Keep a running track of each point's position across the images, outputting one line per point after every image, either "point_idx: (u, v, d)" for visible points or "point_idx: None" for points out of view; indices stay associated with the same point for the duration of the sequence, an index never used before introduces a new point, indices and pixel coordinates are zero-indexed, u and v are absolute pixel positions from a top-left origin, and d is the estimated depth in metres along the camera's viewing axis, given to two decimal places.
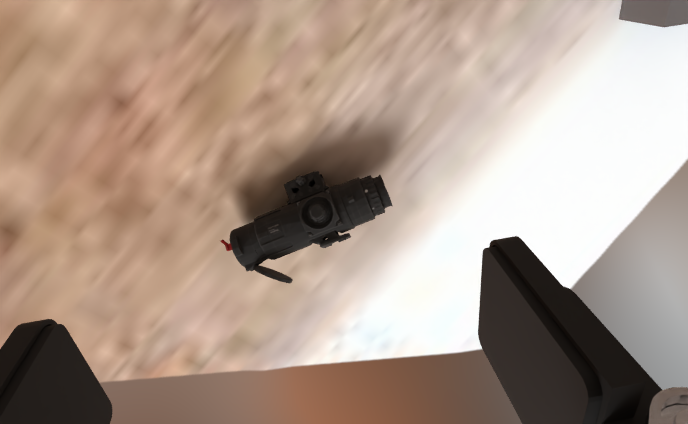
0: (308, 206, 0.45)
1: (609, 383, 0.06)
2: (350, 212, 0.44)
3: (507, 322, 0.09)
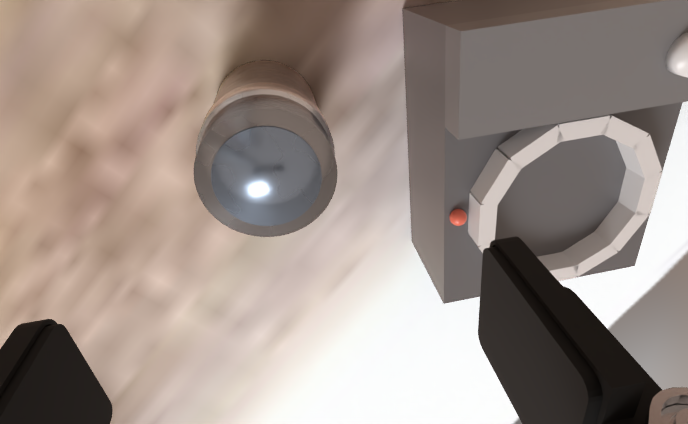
0: None
1: (609, 383, 0.06)
2: None
3: (507, 322, 0.09)
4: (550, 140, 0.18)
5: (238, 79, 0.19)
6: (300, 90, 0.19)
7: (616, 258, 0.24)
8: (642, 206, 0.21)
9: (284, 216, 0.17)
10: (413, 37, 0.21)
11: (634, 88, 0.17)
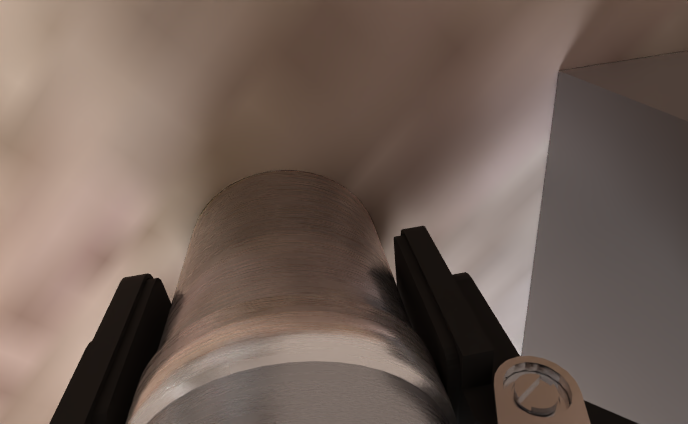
0: None
1: (461, 351, 0.07)
2: None
3: (410, 304, 0.10)
4: None
5: (230, 244, 0.09)
6: (369, 274, 0.08)
7: None
8: None
9: None
10: (596, 135, 0.10)
11: None
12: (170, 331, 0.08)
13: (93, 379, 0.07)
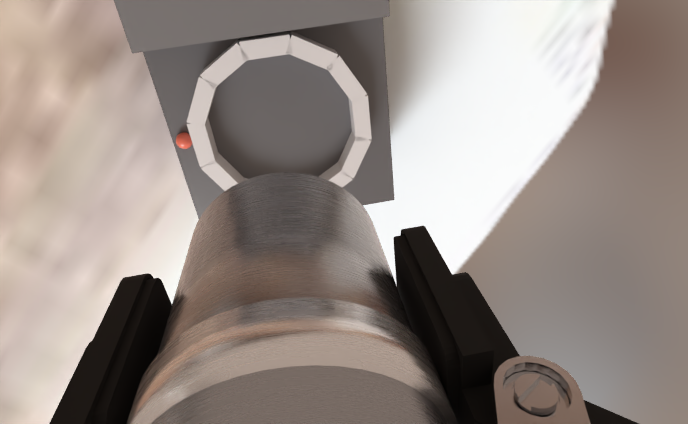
0: None
1: (461, 351, 0.07)
2: None
3: (409, 304, 0.10)
4: (235, 58, 0.19)
5: (230, 247, 0.09)
6: (370, 277, 0.08)
7: (371, 191, 0.25)
8: (360, 131, 0.22)
9: None
10: None
11: (297, 5, 0.18)
12: (170, 334, 0.08)
13: (93, 379, 0.07)
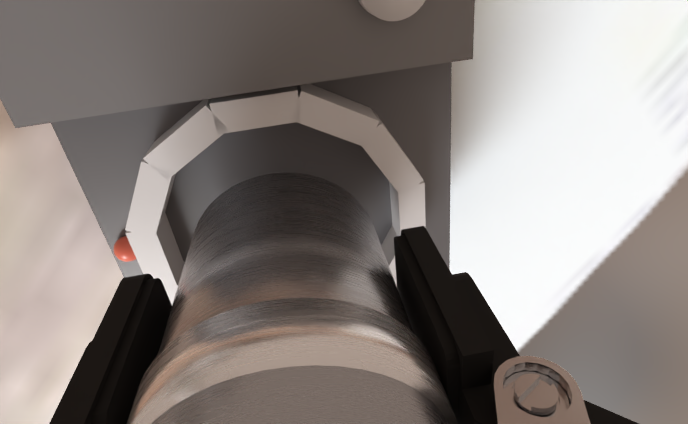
0: None
1: (461, 351, 0.07)
2: None
3: (409, 304, 0.10)
4: (204, 130, 0.11)
5: (230, 247, 0.09)
6: (370, 277, 0.08)
7: None
8: None
9: None
10: None
11: (312, 41, 0.10)
12: (170, 334, 0.08)
13: (93, 379, 0.07)
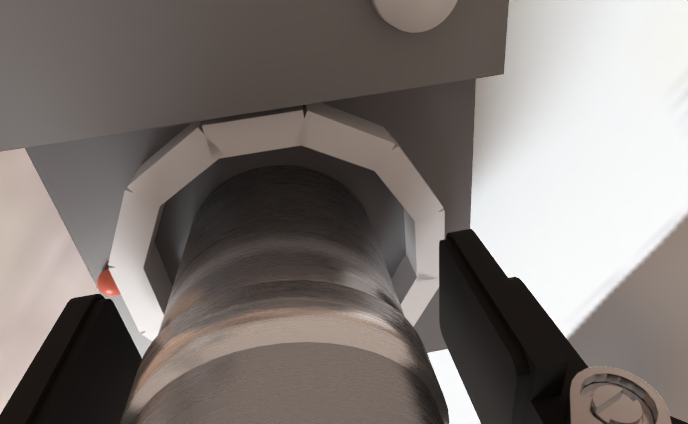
0: None
1: (534, 362, 0.07)
2: None
3: (459, 310, 0.09)
4: (196, 155, 0.10)
5: (227, 234, 0.09)
6: (362, 263, 0.09)
7: (431, 336, 0.15)
8: (426, 266, 0.12)
9: None
10: None
11: (321, 56, 0.09)
12: (169, 317, 0.08)
13: (21, 414, 0.07)
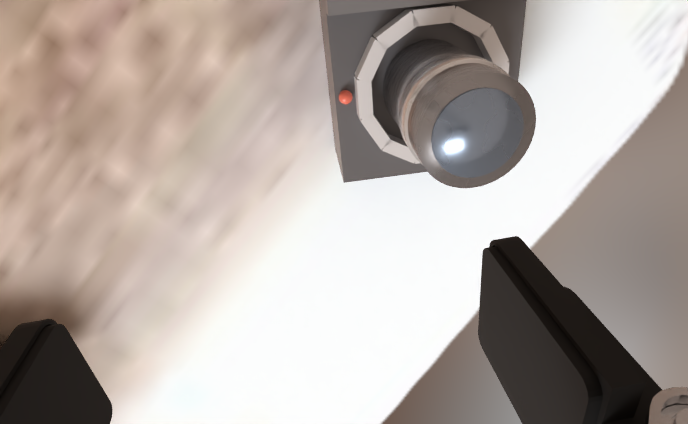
0: None
1: (609, 383, 0.06)
2: None
3: (507, 322, 0.09)
4: (407, 24, 0.23)
5: (427, 53, 0.22)
6: None
7: None
8: None
9: (483, 169, 0.20)
10: None
11: None
12: (413, 76, 0.21)
13: None
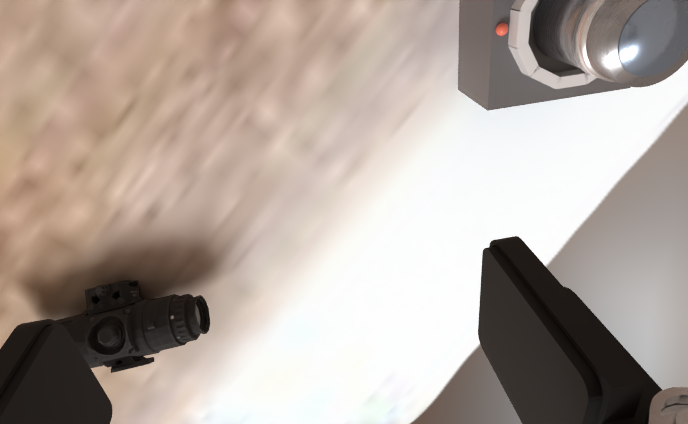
0: (102, 324, 0.38)
1: (609, 383, 0.06)
2: (149, 339, 0.38)
3: (507, 322, 0.09)
4: None
5: None
6: None
7: None
8: None
9: (657, 68, 0.23)
10: None
11: None
12: None
13: None
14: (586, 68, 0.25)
